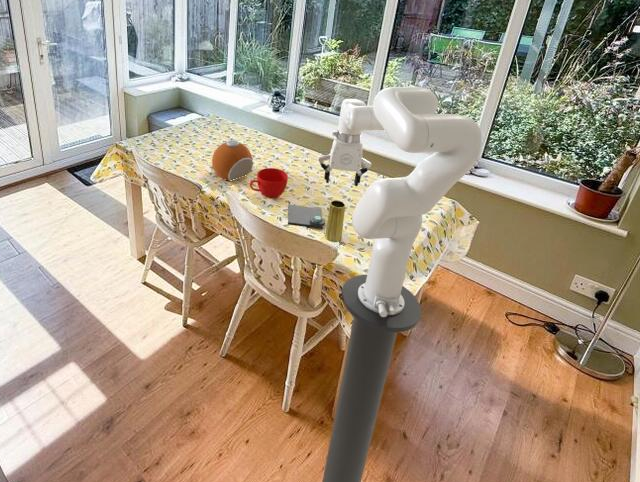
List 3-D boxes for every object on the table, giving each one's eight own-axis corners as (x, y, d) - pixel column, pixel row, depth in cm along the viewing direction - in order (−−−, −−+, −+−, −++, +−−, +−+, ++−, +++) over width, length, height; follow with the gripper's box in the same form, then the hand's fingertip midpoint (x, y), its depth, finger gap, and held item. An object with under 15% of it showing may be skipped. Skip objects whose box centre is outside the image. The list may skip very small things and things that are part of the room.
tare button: (321, 223, 155) (321, 219, 154) (314, 222, 155) (314, 219, 154) (320, 219, 157) (321, 216, 156) (314, 218, 157) (314, 215, 157)
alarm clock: (236, 163, 207) (237, 131, 200) (259, 177, 194) (260, 143, 187) (204, 173, 196) (204, 140, 190) (226, 188, 183) (227, 153, 177)
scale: (324, 230, 154) (325, 224, 153) (287, 225, 156) (288, 220, 155) (322, 210, 167) (323, 205, 166) (288, 206, 170) (289, 201, 169)
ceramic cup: (243, 192, 180) (243, 172, 176) (277, 185, 186) (278, 166, 182) (255, 207, 169) (257, 185, 165) (291, 199, 175) (293, 179, 171)
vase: (343, 242, 147) (349, 208, 141) (326, 242, 146) (331, 208, 141) (339, 232, 152) (344, 199, 147) (322, 232, 152) (327, 199, 147)
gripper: (322, 137, 134) (316, 185, 140) (377, 143, 131) (369, 190, 137) (321, 130, 140) (315, 175, 147) (374, 135, 138) (365, 181, 144)
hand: (341, 183), depth 142 cm, fingers open, 9 cm apart
